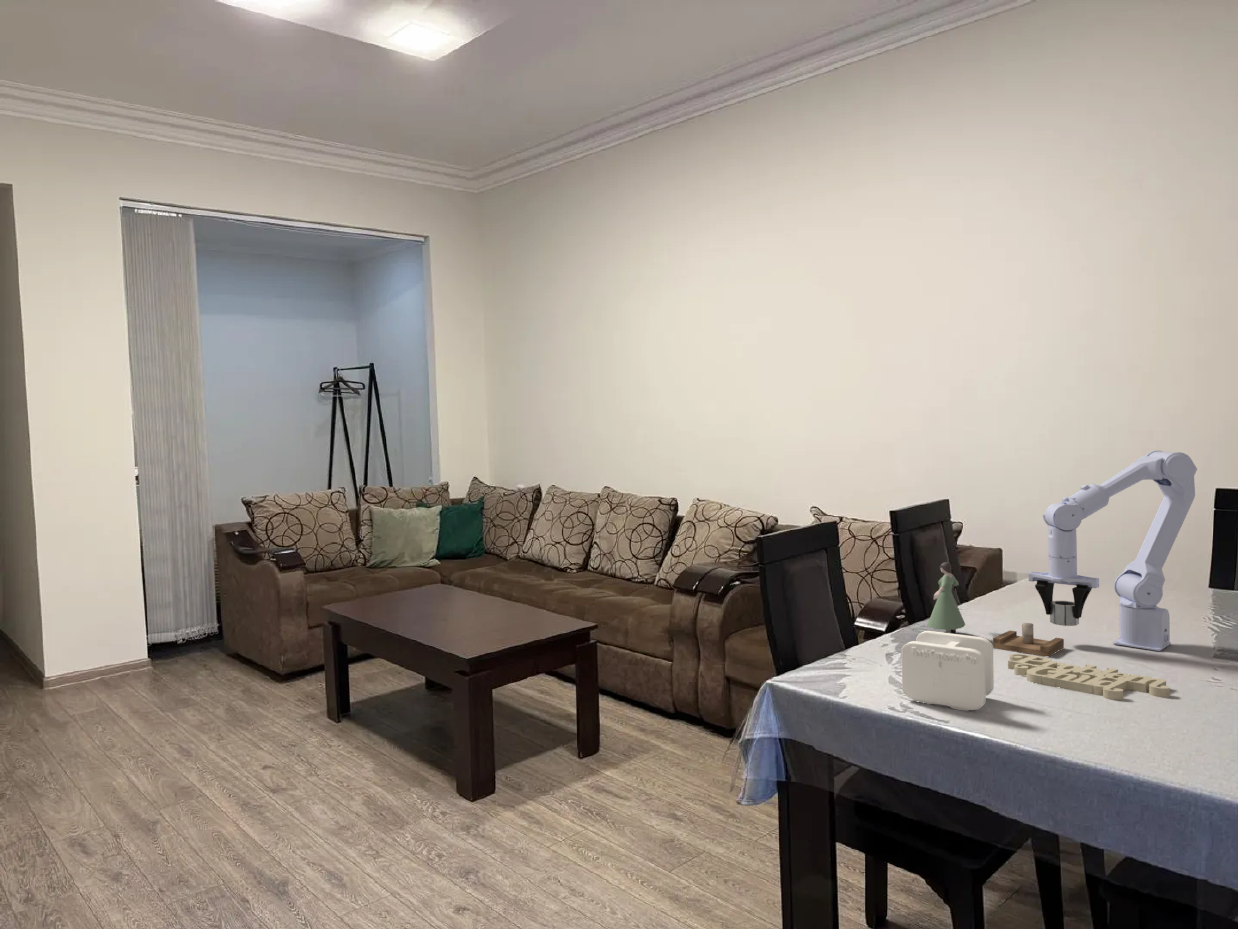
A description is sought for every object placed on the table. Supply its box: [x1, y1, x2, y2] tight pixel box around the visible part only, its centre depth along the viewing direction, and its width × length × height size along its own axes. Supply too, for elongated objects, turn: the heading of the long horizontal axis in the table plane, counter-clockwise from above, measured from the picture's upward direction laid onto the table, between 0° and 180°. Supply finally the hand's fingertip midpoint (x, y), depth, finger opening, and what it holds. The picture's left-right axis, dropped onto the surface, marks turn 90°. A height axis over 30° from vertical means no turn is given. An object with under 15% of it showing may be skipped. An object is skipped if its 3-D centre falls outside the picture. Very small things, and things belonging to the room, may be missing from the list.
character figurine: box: [927, 561, 966, 634], centre depth 210 cm, size 16×8×18 cm, turn 136°
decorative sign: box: [1007, 653, 1171, 701], centre depth 172 cm, size 31×2×15 cm
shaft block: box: [992, 622, 1065, 657], centre depth 197 cm, size 12×9×6 cm
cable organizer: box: [900, 630, 995, 712], centre depth 164 cm, size 15×11×12 cm
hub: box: [1049, 600, 1080, 627], centre depth 198 cm, size 6×6×4 cm
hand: (1063, 615), depth 197 cm, fingers closed on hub, 5 cm apart
